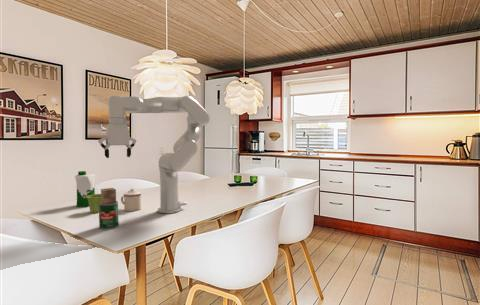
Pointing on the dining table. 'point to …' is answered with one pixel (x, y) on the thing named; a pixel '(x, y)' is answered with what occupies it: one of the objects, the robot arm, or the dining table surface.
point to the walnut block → (108, 196)
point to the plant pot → (94, 202)
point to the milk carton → (84, 188)
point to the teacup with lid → (132, 200)
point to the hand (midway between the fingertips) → (118, 157)
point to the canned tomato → (108, 216)
